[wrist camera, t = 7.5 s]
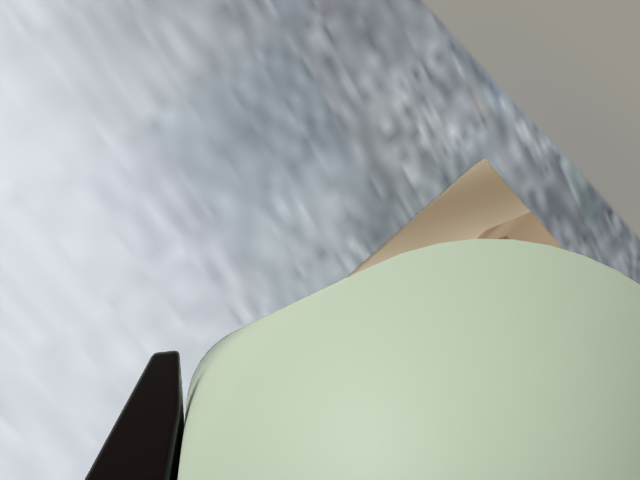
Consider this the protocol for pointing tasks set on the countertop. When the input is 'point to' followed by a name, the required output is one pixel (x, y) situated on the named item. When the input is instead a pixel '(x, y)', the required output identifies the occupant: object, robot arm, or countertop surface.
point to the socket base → (467, 217)
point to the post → (430, 375)
